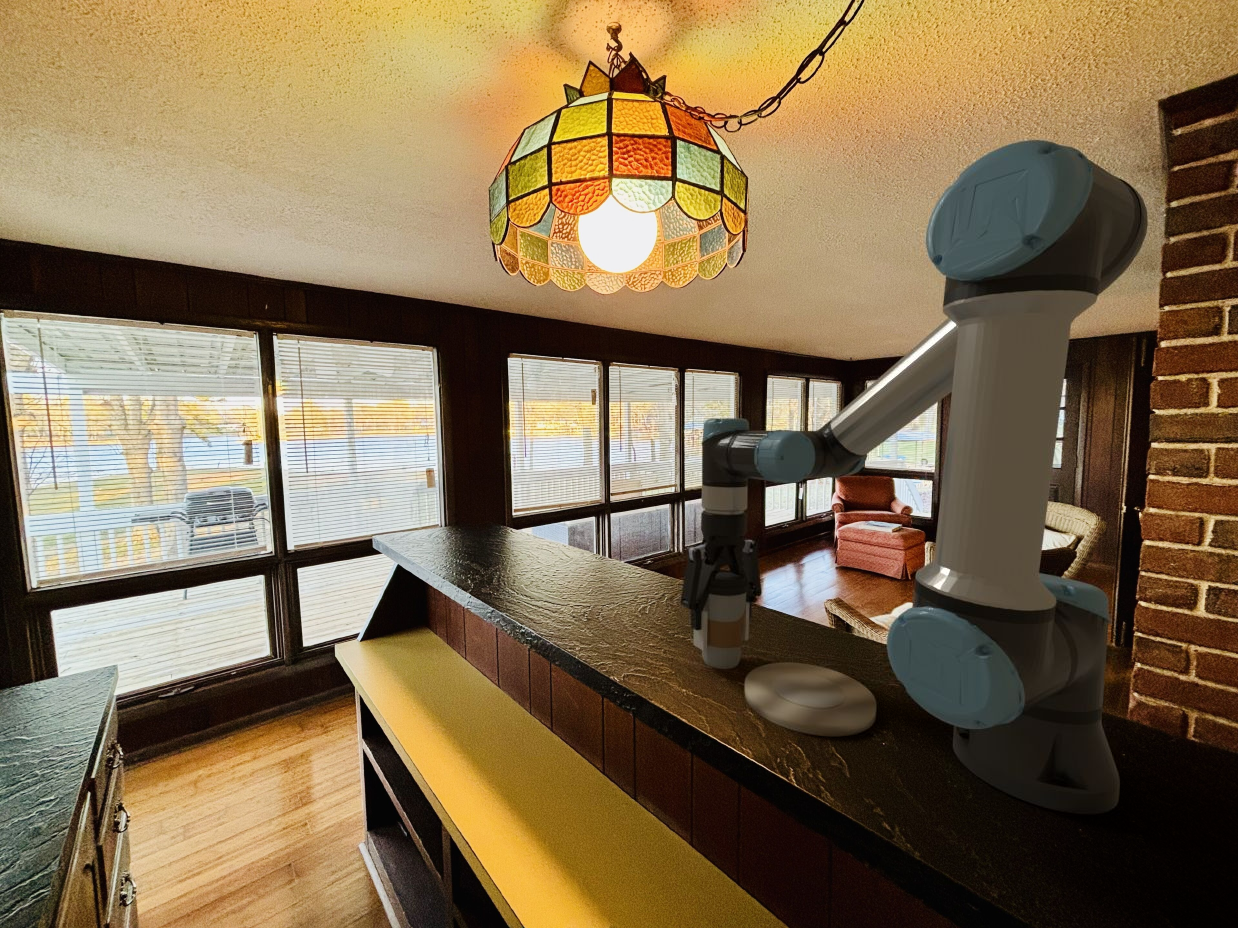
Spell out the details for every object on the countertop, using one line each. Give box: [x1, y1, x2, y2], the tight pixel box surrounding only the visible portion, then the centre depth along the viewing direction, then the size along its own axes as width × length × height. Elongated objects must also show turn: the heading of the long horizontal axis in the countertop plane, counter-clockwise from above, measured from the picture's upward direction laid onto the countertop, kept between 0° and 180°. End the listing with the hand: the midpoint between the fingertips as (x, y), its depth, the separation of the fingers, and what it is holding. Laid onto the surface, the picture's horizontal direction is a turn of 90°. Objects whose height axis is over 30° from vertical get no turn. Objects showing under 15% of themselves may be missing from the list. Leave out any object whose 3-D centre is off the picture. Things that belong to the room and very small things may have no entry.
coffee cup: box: [701, 568, 748, 670], centre depth 88 cm, size 8×8×15 cm
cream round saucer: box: [744, 662, 877, 737], centre depth 76 cm, size 18×18×2 cm
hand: (721, 642), depth 88 cm, fingers closed on coffee cup, 8 cm apart
